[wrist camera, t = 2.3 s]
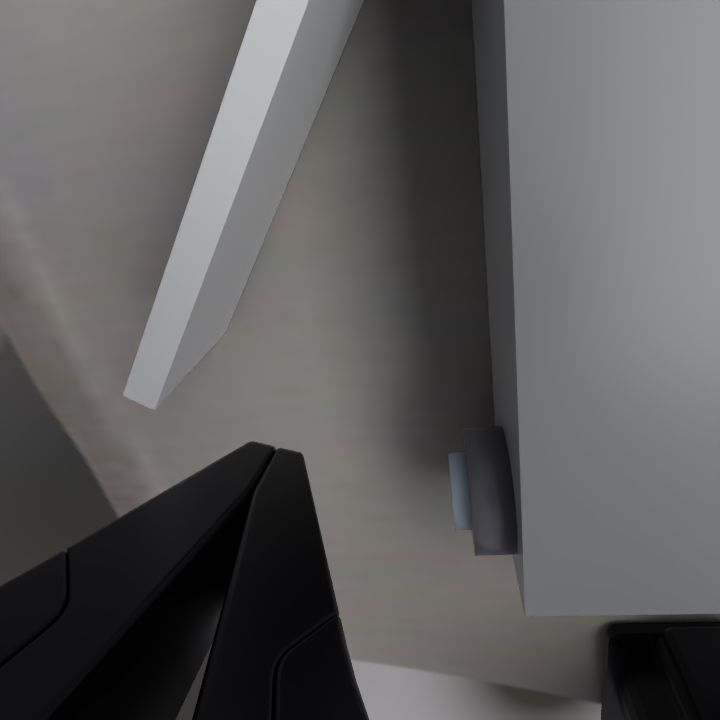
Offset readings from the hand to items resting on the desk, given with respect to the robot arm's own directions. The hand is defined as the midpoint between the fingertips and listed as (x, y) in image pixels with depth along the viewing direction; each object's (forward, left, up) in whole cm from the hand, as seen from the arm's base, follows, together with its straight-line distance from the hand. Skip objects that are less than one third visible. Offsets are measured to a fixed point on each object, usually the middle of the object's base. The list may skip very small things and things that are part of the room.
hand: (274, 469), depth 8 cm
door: (+5, 0, -9) cm, 10 cm away
